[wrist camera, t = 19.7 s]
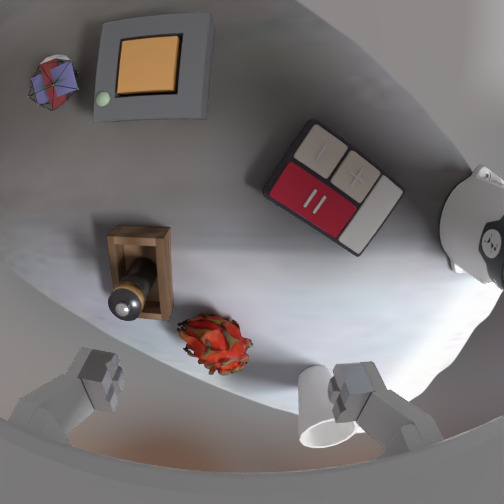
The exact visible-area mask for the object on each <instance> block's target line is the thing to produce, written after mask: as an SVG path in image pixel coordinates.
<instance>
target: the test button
mask: <svg viewBox="0 0 504 504" xmlns="http://www.w3.org/2000/svg"><path fill="white" fill-rule="evenodd" d="M181 51H182V42H181V40H180V39H179V37H178V36H170V37H156V38H145V39H136V40H128V41H123V42H122V50H121V58H120V67H119V78H118V90H117V93H120V94H124V95H135V94H151V93H178V82H179V71H180V60H181Z"/></svg>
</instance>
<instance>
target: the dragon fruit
mask: <svg viewBox="0 0 504 504" xmlns="http://www.w3.org/2000/svg"><path fill="white" fill-rule="evenodd" d="M199 316H200V317H197V318H192V319H187V320H185V321H183V322H182V323H178V326H181V325H183V327H185V329H184V328H183V327H181V328H180V329H179V328H178V332H179V335H180V337H181V338H182V339H183V340H184V341H186V342H187V345H186V348H183V349H184V351H186V352H187V353H188V355H189V356H192V357H198V358H199V360H198V363H199V364H204V367H205V368H207V369H210V370H209V372H208V373H209V374H210V375H213V374H214V372H215V371H216V370H218V373H219V374H220V375H228V374H229V373H234V372H238V371H242V369H244V367H245V364H244V363H243V362H244V361H246V363H248V357H249V355H248V354H246V353H245V352H246V350H247V349H248V348H250V347H251V346H252V345H253V343H252V342H251V339H247V338H243V337H242V336H241V333H240V327H239V325H238V323H237V322H236V321H235V320H232V321H226V320H224V319H222V318H220V317H217V316H214V315H212V314H211V315H210V314H200V315H199ZM176 330H177V329H176ZM247 347H248V348H247ZM188 349H191V350H193V351H194V354H192V353H191V351H189V350H188Z"/></svg>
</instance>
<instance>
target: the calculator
mask: <svg viewBox="0 0 504 504" xmlns="http://www.w3.org/2000/svg"><path fill="white" fill-rule="evenodd" d="M404 193H405V189H404V188H403V187H402V186H401V185H400V184H399V183H397V182H396V181H395V180H394V179H393V178H392V177H390V176H389V175H388V174H387V173H386V172H385V171H383V170H382V169H381V168H380V167H379V166H377V165H376V164H375V163H374V162H372V161H371V160H370V159H369V158H367V157H366V156H365V155H364V154H362V153H361V152H360V151H358V150H357V149H356V148H355V147H353V146H352V145H351V144H349V143H348V142H347V141H345V140H344V139H343V138H341V137H340V136H339V135H337V134H336V133H334V132H333V131H332V130H330V129H329V128H327V127H326V126H325V125H323V124H322V123H320V122H319V121H317V120H315V119H313V120H309V121H308V122H307V123H306V125H305V126H304V127H303V129H302V130H301V132H300V133H299V135H298V136H297V138H296V139H295V141H294V142H293V144H292V145H291V147H290V148H289V150H288V151H287V153H286V154H285V156H284V157H283V159H282V160H281V162H280V164H279V165H278V167H277V168H276V170H275V171H274V173H273V174H272V176H271V177H270V179H269V180H268V182H267V183H266V185H265V186H264V188H263V195H264V197H266V198H267V199H269V200H270V201H272V202H274V203H275V204H277V205H278V206H280V207H282V208H283V209H285V210H286V211H288V212H290V213H291V214H293V215H294V216H296V217H297V218H299V219H301V220H302V221H304V222H305V223H307V224H308V225H310V226H311V227H313V228H314V229H316V230H318V231H319V232H321V233H322V234H324V235H325V236H327V237H328V238H330V239H331V240H333V241H334V242H336V243H337V244H339V245H340V246H342V247H343V248H345V249H346V250H348V251H349V252H351V253H352V254H353V255H355V256H357V257H358V256H360V255H361V254H362V252H363V251H364V250H365V248H366V247H367V246H368V244H369V243H370V242H371V240H372V239H373V238H374V236H375V235H376V233H377V232H378V231H379V229H380V228H381V227H382V225H383V224H384V222H385V221H386V219H387V218H388V217H389V215H390V214H391V212H392V211H393V209H394V208H395V207H396V205H397V204H398V202H399V201H400V199H401V198H402V196H403V195H404Z"/></svg>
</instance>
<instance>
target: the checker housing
mask: <svg viewBox="0 0 504 504" xmlns="http://www.w3.org/2000/svg"><path fill="white" fill-rule="evenodd" d="M214 31H215V28H214V24H213V21H212V17H211V13H210V12H202V13H176V14H163V15H152V16H144V17H136V18H129V19H122V20H116V21H111V22H106V23H103V27H102V33H101V39H100V46H99V54H98V62H97V72H96V82H95V96H94V115H93V122H116V121H132V120H156V119H207V109H208V95H209V83H210V71H211V60H212V50H213V40H214ZM170 36H178V37H179V39H180V40H181V42H182V51H181V60H180V71H179V82H178V93H151V94H135V95H124V94H120V93H117V90H118V78H119V67H120V58H121V50H122V42H123V41H128V40H136V39H145V38H156V37H170Z"/></svg>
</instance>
